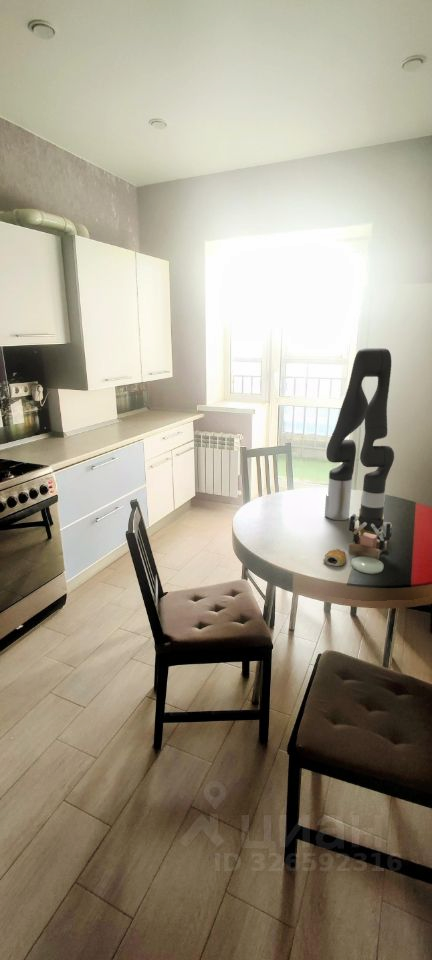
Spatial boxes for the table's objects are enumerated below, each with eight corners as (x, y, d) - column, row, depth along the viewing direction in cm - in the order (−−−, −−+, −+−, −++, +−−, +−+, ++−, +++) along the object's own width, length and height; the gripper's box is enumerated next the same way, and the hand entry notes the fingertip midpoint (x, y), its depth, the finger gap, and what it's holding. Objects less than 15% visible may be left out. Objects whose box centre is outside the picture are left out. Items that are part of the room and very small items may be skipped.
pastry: (331, 553, 156) (331, 543, 155) (350, 557, 153) (351, 547, 152) (322, 563, 149) (322, 553, 148) (341, 569, 145) (342, 558, 144)
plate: (347, 567, 145) (347, 565, 145) (357, 556, 153) (357, 553, 153) (377, 576, 140) (378, 574, 139) (387, 564, 147) (387, 561, 147)
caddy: (348, 552, 156) (349, 544, 155) (358, 542, 163) (359, 534, 162) (377, 560, 150) (378, 551, 149) (386, 549, 158) (387, 541, 157)
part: (359, 552, 156) (360, 536, 155) (363, 547, 160) (364, 532, 158) (371, 555, 154) (373, 539, 152) (375, 550, 157) (377, 535, 155)
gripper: (348, 502, 152) (344, 545, 157) (390, 510, 144) (385, 555, 149) (355, 496, 158) (352, 537, 163) (397, 504, 150) (392, 547, 155)
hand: (368, 546), depth 156 cm, fingers open, 8 cm apart
